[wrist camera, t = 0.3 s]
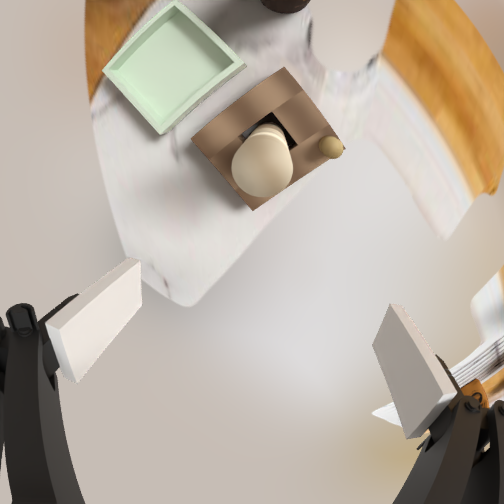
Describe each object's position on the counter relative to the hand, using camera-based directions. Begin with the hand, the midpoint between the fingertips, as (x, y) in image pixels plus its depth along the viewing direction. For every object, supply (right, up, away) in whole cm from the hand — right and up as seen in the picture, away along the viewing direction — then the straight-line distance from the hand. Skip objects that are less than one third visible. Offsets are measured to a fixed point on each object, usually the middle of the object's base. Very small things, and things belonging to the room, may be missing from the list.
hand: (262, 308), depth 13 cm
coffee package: (+79, -46, +50) cm, 105 cm away
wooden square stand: (+2, +17, +19) cm, 26 cm away
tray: (-11, +27, +15) cm, 33 cm away
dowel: (+2, +17, +19) cm, 26 cm away
